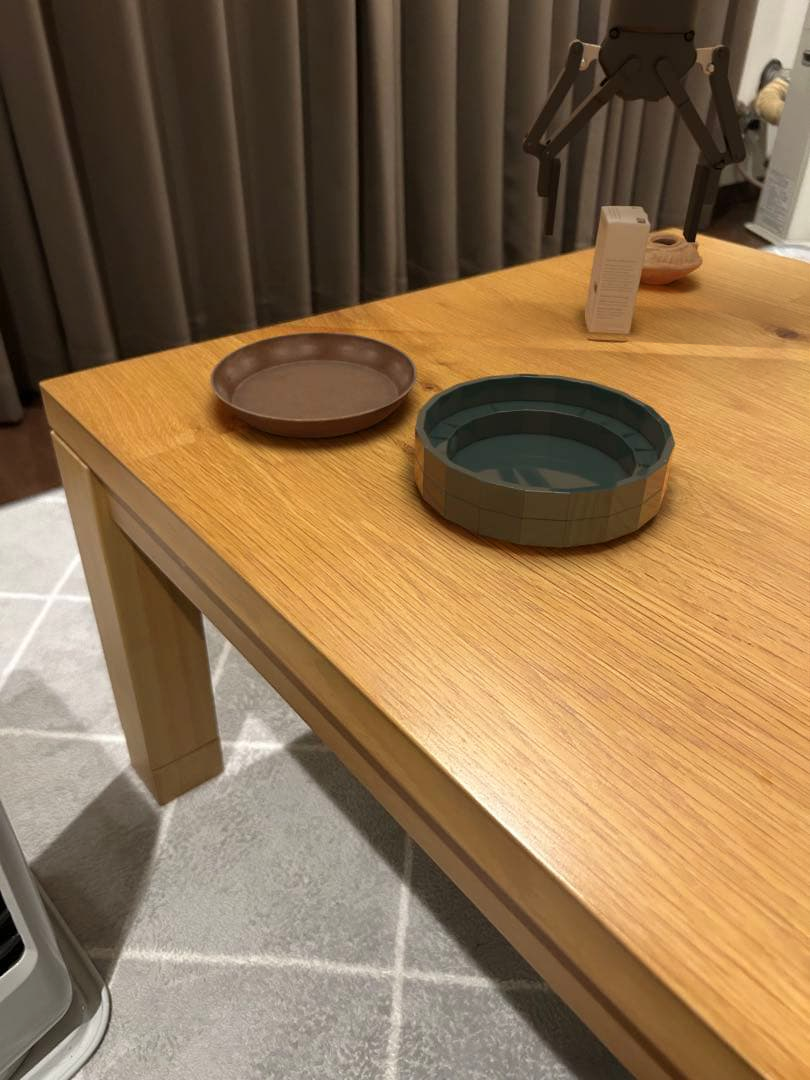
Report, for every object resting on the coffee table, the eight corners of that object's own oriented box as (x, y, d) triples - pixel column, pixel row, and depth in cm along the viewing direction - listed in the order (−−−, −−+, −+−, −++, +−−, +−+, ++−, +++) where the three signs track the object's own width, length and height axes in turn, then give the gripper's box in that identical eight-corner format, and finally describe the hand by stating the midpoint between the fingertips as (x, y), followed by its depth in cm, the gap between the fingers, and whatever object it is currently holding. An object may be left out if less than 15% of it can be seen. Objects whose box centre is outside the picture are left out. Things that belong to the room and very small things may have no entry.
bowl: (644, 435, 72) (655, 379, 69) (679, 565, 57) (694, 500, 54) (425, 423, 73) (426, 368, 70) (403, 547, 58) (403, 483, 55)
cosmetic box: (582, 321, 93) (597, 203, 86) (624, 323, 93) (643, 205, 86) (586, 343, 88) (603, 220, 81) (631, 345, 88) (652, 221, 81)
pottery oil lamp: (580, 269, 106) (600, 212, 105) (665, 301, 109) (686, 246, 108) (606, 265, 98) (629, 202, 97) (698, 300, 101) (721, 239, 99)
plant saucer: (359, 469, 67) (358, 434, 65) (171, 423, 73) (166, 390, 71) (447, 383, 80) (448, 351, 78) (282, 350, 86) (280, 320, 84)
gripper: (510, -26, 70) (489, 239, 83) (825, -17, 69) (757, 253, 81) (510, -29, 77) (491, 218, 89) (799, -21, 75) (739, 230, 87)
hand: (618, 235), depth 85 cm, fingers open, 13 cm apart
